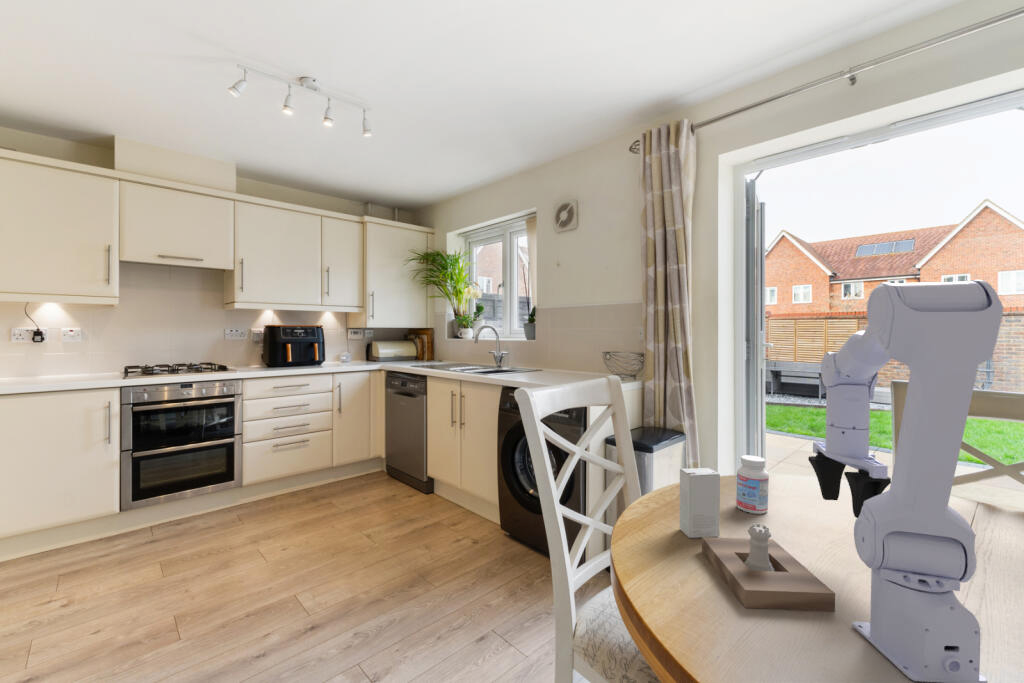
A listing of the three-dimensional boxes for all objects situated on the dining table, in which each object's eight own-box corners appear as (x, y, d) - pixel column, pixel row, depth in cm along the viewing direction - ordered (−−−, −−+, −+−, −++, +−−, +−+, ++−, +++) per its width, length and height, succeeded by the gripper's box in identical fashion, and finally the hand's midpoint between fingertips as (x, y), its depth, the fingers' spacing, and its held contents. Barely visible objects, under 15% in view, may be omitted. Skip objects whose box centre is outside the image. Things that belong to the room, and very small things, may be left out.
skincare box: (707, 527, 87) (708, 466, 86) (720, 538, 82) (721, 473, 82) (677, 529, 86) (678, 467, 86) (689, 539, 82) (690, 474, 81)
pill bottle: (730, 506, 98) (730, 455, 97) (748, 502, 100) (749, 453, 100) (755, 516, 92) (756, 463, 92) (774, 512, 95) (775, 459, 94)
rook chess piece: (774, 589, 66) (775, 535, 66) (740, 579, 68) (741, 528, 68) (776, 575, 70) (776, 525, 69) (744, 567, 72) (744, 518, 72)
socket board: (834, 611, 61) (835, 593, 60) (744, 607, 61) (745, 589, 61) (772, 553, 76) (772, 539, 76) (701, 551, 77) (702, 537, 77)
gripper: (909, 436, 65) (907, 528, 65) (841, 418, 80) (840, 493, 80) (860, 435, 66) (858, 526, 66) (801, 417, 80) (800, 491, 80)
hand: (845, 508), depth 73 cm, fingers open, 7 cm apart
